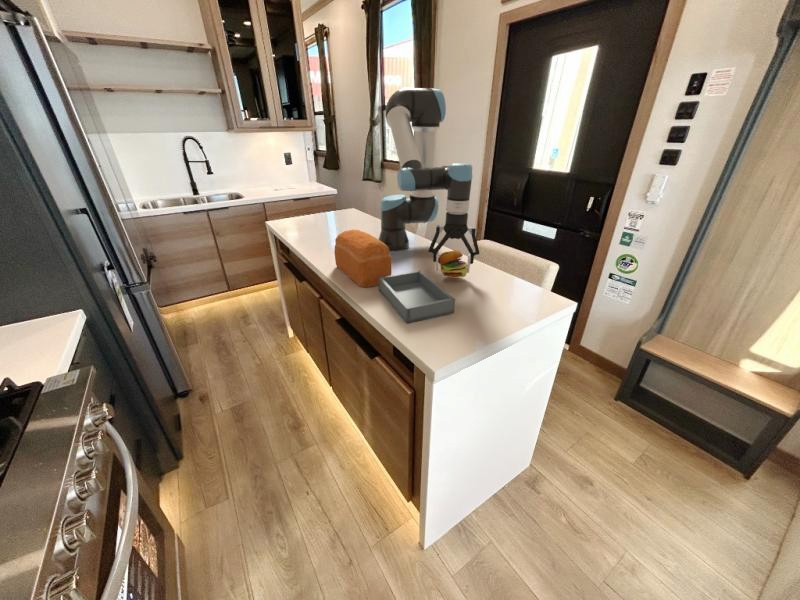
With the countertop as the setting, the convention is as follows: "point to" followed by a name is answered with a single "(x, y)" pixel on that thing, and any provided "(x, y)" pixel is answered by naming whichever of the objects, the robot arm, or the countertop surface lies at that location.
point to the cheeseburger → (452, 264)
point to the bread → (362, 257)
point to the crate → (416, 296)
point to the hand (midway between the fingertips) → (452, 270)
